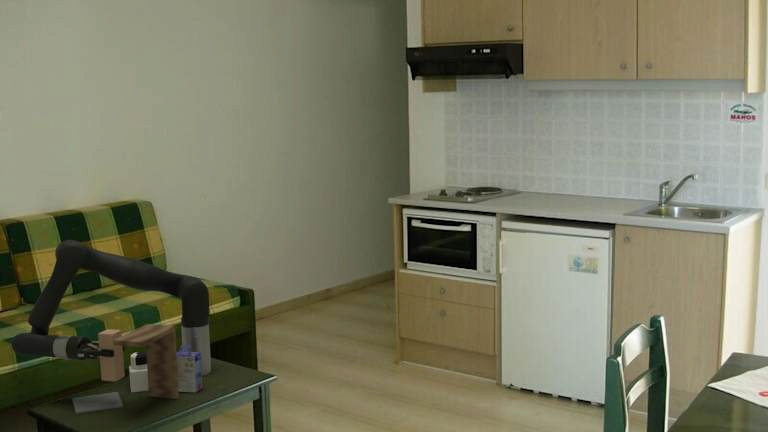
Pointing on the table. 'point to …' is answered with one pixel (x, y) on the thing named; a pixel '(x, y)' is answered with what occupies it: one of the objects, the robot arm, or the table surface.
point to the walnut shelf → (157, 357)
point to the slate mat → (97, 402)
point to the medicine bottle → (138, 372)
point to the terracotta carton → (111, 365)
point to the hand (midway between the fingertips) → (118, 350)
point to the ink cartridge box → (189, 370)
